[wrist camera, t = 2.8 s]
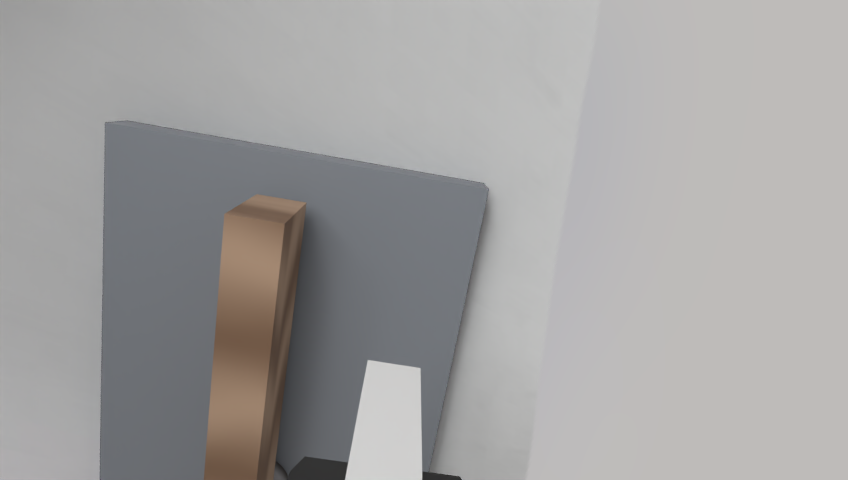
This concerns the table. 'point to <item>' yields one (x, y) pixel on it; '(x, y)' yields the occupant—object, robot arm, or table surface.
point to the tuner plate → (314, 301)
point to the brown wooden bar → (253, 337)
